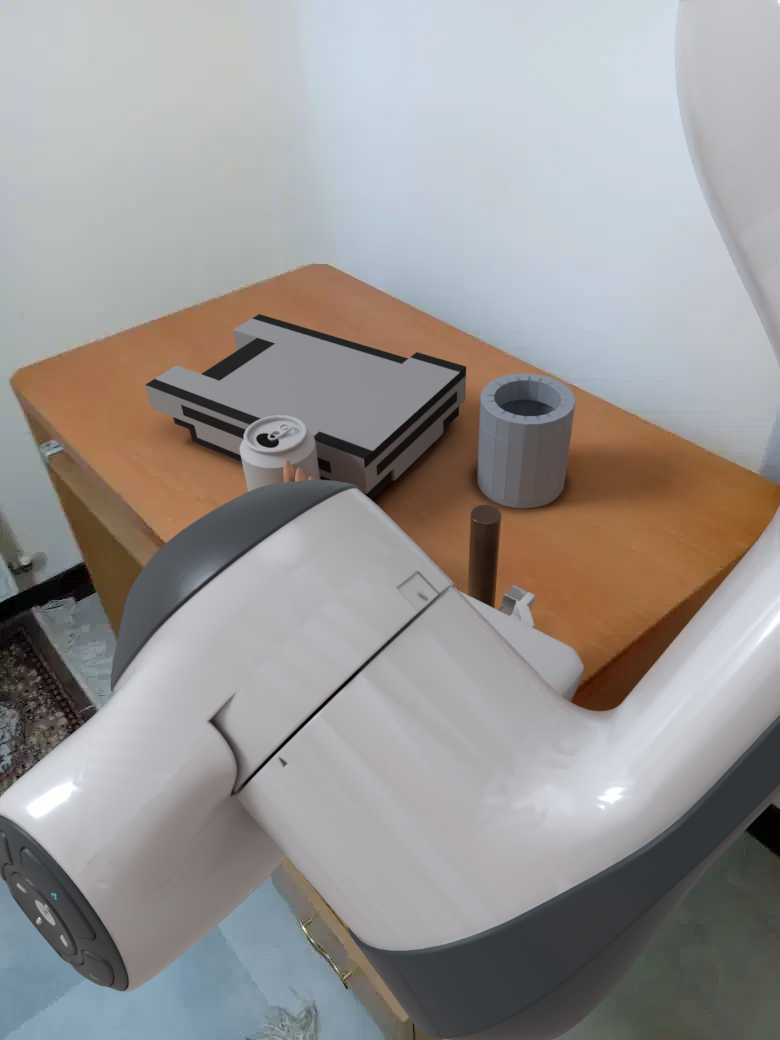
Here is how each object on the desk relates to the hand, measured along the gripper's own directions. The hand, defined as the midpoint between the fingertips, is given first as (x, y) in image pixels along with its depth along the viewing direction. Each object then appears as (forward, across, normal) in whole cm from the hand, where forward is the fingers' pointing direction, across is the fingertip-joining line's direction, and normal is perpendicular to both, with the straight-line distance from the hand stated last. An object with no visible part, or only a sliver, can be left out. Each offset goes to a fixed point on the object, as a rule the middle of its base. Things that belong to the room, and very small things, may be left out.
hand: (453, 565), depth 49 cm
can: (+23, +26, +18) cm, 39 cm away
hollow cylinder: (+40, +8, +10) cm, 42 cm away
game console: (+38, +35, +14) cm, 53 cm away
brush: (+15, 0, +18) cm, 23 cm away
